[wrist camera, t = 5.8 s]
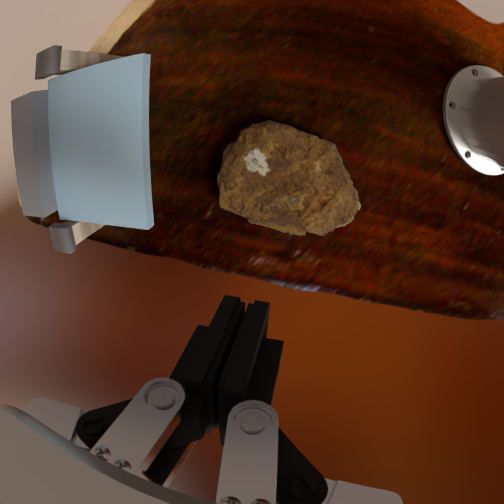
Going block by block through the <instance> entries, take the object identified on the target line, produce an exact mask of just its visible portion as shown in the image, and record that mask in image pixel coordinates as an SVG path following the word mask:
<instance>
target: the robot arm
mask: <svg viewBox="0 0 504 504" xmlns="http://www.w3.org/2000/svg"><path fill="white" fill-rule="evenodd" d="M472 73H473V74H472ZM449 103H450V104H451V107H450V106H449ZM443 119H444V124H445V129H446V132H447V135H448V138H449V140H450V142H451V145H452V147H453V149H454V150H455V152H456V153H457V155H458V156H459V157H460V158H461V159H462V160H463V162H464V163H465V164H467V165H468V166H469V167H471V168H472V169H474V170H476V171H478V172H480V173H483V174H486V175H500V174H503V173H504V76H503V75H502V74H500V73H499V72H497V71H496V70H494V69H492V68H489V67H487V66H481V65H474V66H469V67H465V68H462V69H461V70H459V71H458V72H456V73H455V75H454V76H453V77H452V78H451V79H450V81H449V83H448V85H447V87H446V90H445V94H444V99H443ZM465 152H466V154H465ZM269 309H270V303H269V302H262V301H257V300H255V302H254V304H250V303H249V304H248V306H247V309H246V312H245V302H240V298H239V297H233V296H228V295H225V296H224V298H223V300H222V302H221V304H220V305H219V307H218V310H217V311H216V314H215V315H214V317H213V319H212V321H211V323H210V325H209V327H207V326H202V325H199V326H197V328H196V330H195V331H194V333H193V335H192V337H191V339H190V341H189V342H188V344H187V346H186V348H185V350H184V352H183V353H182V355H181V357H180V359H179V361H178V363H177V365H176V366H175V368H174V370H173V372H172V374H171V376H170V377H169V378H157V379H153V380H151V381H149V382H148V383H146V384H145V386H143V387H142V389H141V390H140V391H139V392H138V393H137V395H136V396H135V397H134V398H133V399H130V400H126V401H123V402H120V403H116V404H113V405H109V406H106V407H102V408H98V409H95V410H91V411H88V412H85V411H83V410H82V409H81V408H77V407H73V406H70V405H66V404H63V403H59V402H56V401H53V400H50V399H47V398H44V397H38V398H35V399H34V400H32V401H30V403H29V405H28V406H27V408H26V410H25V412H24V411H22V410H20V409H18V408H16V407H13V406H10V405H7V404H1V403H0V504H403V502H402V499H401V497H399V495H398V494H397V493H394V492H391V491H387V490H381V489H375V488H371V487H366V486H361V485H356V484H352V483H347V482H343V481H340V480H338V481H332V480H329V479H325V478H324V477H323V476H322V475H321V474H320V473H319V471H318V470H316V468H315V467H314V466H313V465H312V464H311V463H310V462H309V461H308V460H307V459H306V458H305V456H304V455H303V454H302V453H301V452H300V451H299V450H298V449H297V448H296V447H295V445H294V444H293V443H292V442H291V441H290V440H289V439H288V437H287V436H286V435H285V434H284V433H283V432H282V431H281V429H280V428H279V427H278V416H277V414H276V412H275V410H274V409H273V408H272V407H271V403H272V399H273V394H274V389H275V385H276V380H277V376H278V371H279V366H280V361H281V355H282V350H283V344H284V341H280V340H274V339H268V338H267V329H268V320H269V319H268V318H269ZM218 426H219V431H220V439H221V444H222V445H223V447H224V449H223V456H222V463H221V470H220V477H219V484H218V490H217V498H216V503H213V502H210V501H206V500H203V499H199V498H196V497H192V496H189V495H186V494H183V493H180V492H177V491H174V490H171V489H168V488H167V487H168V485H169V484H170V482H171V481H172V479H173V478H174V476H175V475H176V473H177V471H178V470H179V468H180V467H181V465H182V464H183V462H184V460H185V459H186V457H187V456H188V454H189V453H190V451H191V449H192V448H193V446H194V444H195V441H197V440H199V439H202V438H203V436H204V434H205V433H208V434H210V433H211V430H212V427H213V428H218Z"/></svg>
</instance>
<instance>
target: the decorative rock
mask: <svg viewBox="0 0 504 504" xmlns="http://www.w3.org/2000/svg"><path fill="white" fill-rule="evenodd" d="M217 182H218V186H219V189H220V196H219V206H220V207H221V208H223V209H225V210H228V211H231V212H233V213H235V214H237V215H240V216H243V217H245V218H246V219H247V220H248V222H250V223H255V224H257V225H262V226H266V227H269V228H272V229H275V230H278V231H281V232H284V233H286V232H288V233H289V234H291V235H293V234H296V235H305V234H306V231H308V232H309V233H315V234H317V235H321V236H324V235H325V234H326V233H328V232H332V231H333V230H334V229H335V228H337V227H341V226H346V224H348V223H350V222H351V221H352V220H353V218H354V215H355V214H356V213H357V211H358V210H359V209H360V208H361V204H360V202H359V197H358V191H357V190H356V189H355V188H354V187H353V182H352V181H351V179H350V175H349V173H348V172H347V170H346V169H345V167H344V165H343V160H342V158H341V157H340V155H339V153H338V151H337V148H336V145H335V144H334V143H332V142H329V141H326V140H324V139H320V138H319V137H318V136H315V135H312V134H308V133H306V132H303V131H299V130H297V129H295V128H294V127H292V126H290V125H285V124H281V123H277V122H274V121H271V120H268V121H265V122H262V123H258V124H253V123H252V125H251V126H250V127H248V128H245V129H243V130H241V131H240V135H239V137H238V139H237V140H236V141H235V142H232V143H230V144H229V145H228V146H227V147H226V148H225V150H224V151H223V160H222V166H221V170H220V172H219V174H218V176H217Z"/></svg>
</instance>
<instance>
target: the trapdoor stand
mask: <svg viewBox="0 0 504 504" xmlns="http://www.w3.org/2000/svg"><path fill="white" fill-rule="evenodd" d="M119 58H123V57H122V56H115V55H108V54H101V53H92V52H82V51H70V50H62V46H52V47H50V48H48V49H46V50H43V51H42V52H39V53H38V54H37V58H36V72H35V73H36V74H35V79H44V78H47V77H49V76H52V75H63V74H66V73H69V72H72V71H75V70H79V69H82V68H85V67H88V66H92V65H95V64H99V63H103V62H107V61H111V60H115V59H119ZM104 225H105V224H97V223H88V222H80V221H71V220H66V221H65V222H63V223H54V224H52V225H51V226H49V230H50V234H51V239H52V243H53V247H54V250H55V251H59V252H64V253H68V254H71V253H72V252H74V251H75V250H76V249H77V248H76V245H77V244H78V243H79V242H81V241H82V240H84V239H85V238H86V237H88V236H89V235H91V234H92V233H94V232H95V231H96V230H98V229H99V228H101V227H102V226H104Z"/></svg>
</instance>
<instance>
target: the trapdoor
mask: <svg viewBox="0 0 504 504" xmlns="http://www.w3.org/2000/svg"><path fill="white" fill-rule="evenodd" d="M150 56H151V55H149V54H145V53H142V54H137V55H132V56H128V57H123V58H119V59H115V60H111V61H107V62H103V63H99V64H95V65H92V66H88V67H85V68H82V69H79V70H75V71H72V72H69V73H66V74H63V75H61V76H58V77H55V78H52V79H50V80H48V90H42V91H34V92H30V93H28V94H26V95H23V96H21V97H19V98H16V99H14V100H12V101H11V110H12V111H11V113H12V136H13V149H14V159H15V168H16V175H17V181H18V188H19V194H20V200H21V205H22V210H23V215H27V216H36V217H46V216H48V215H50V214H52V213H53V212H55V211H57V210H58V212H59V217H60V219H62V220H71V221H80V222H88V223H97V224H105V225H114V226H122V227H130V228H138V229H146V230H149V229H150V228H151V227H152V226H153V225H154V219H153V207H152V193H151V177H150V155H149V77H150Z"/></svg>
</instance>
